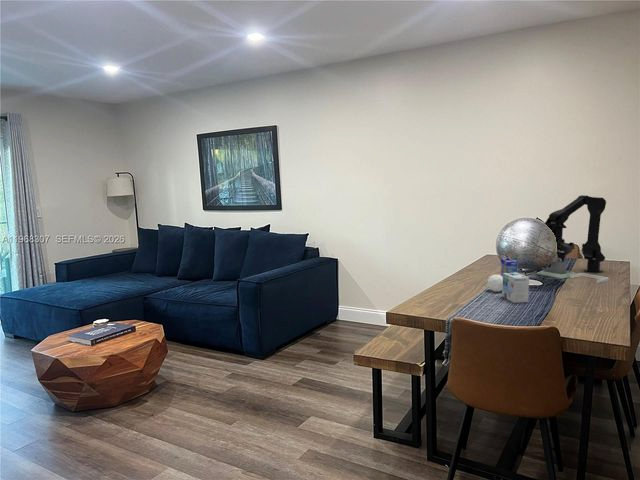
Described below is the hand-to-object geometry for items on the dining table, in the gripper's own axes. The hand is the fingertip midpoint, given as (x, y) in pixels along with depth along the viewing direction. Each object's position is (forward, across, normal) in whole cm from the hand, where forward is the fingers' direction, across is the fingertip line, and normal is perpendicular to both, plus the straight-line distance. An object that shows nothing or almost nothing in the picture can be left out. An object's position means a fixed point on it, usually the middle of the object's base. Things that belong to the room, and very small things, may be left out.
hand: (554, 266), depth 243 cm
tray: (+4, 0, 0) cm, 4 cm away
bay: (+4, +4, -16) cm, 17 cm away
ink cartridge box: (+5, -36, -1) cm, 36 cm away
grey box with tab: (+4, 0, 0) cm, 4 cm away
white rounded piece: (+5, -51, -9) cm, 52 cm away
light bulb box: (+5, -56, -21) cm, 60 cm away
